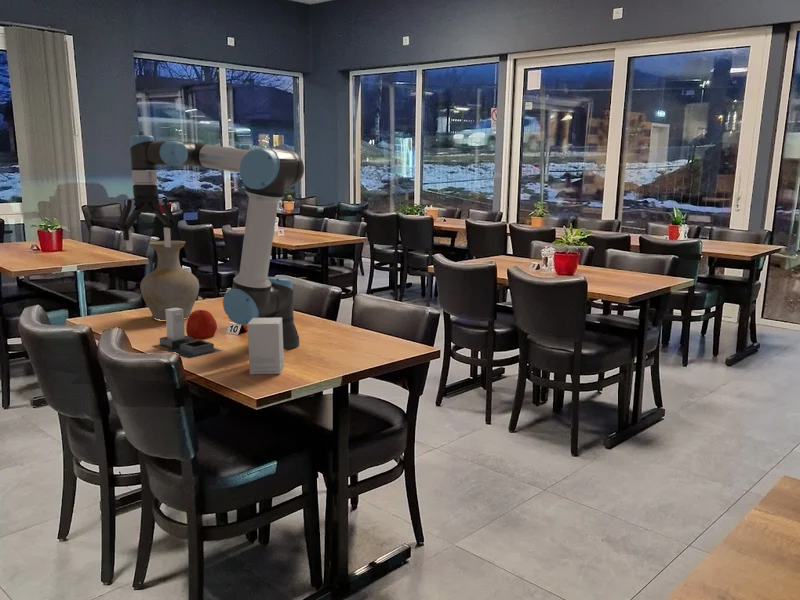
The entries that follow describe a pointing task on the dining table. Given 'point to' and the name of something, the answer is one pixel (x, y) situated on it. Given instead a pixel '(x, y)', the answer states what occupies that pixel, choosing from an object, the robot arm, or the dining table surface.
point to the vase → (169, 282)
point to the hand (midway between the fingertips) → (149, 248)
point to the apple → (201, 325)
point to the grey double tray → (187, 347)
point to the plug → (175, 324)
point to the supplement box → (265, 345)
